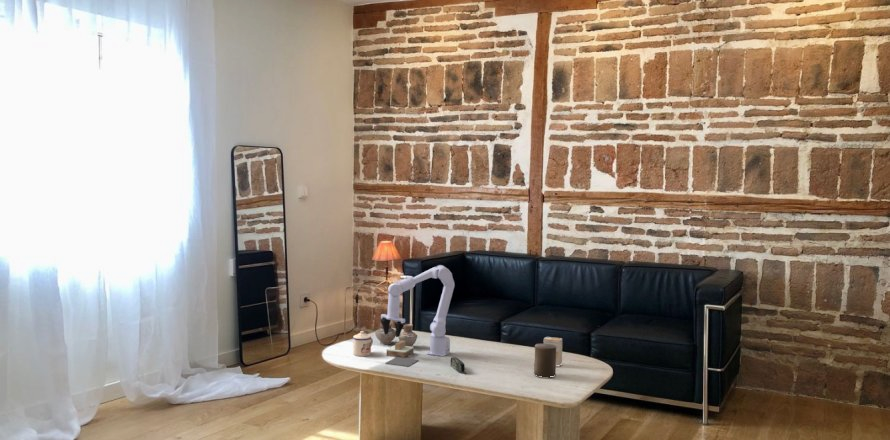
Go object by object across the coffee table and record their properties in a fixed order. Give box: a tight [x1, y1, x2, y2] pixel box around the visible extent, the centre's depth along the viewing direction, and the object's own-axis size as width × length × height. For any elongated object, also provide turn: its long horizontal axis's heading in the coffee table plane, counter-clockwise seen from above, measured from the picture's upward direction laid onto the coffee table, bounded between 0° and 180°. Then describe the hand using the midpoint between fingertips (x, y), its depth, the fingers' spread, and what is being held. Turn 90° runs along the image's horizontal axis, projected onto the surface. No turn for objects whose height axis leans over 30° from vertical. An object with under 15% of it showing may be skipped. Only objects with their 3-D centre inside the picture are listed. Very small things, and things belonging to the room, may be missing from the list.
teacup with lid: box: [352, 330, 374, 357], centre depth 371 cm, size 12×9×12 cm
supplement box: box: [543, 336, 563, 365], centre depth 355 cm, size 8×5×13 cm, turn 65°
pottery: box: [374, 322, 418, 348], centre depth 389 cm, size 11×25×12 cm, turn 57°
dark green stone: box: [450, 356, 467, 375], centre depth 345 cm, size 5×3×15 cm
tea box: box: [386, 348, 414, 358], centre depth 371 cm, size 10×10×3 cm
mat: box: [385, 357, 420, 368], centre depth 357 cm, size 12×12×1 cm
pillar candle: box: [533, 343, 557, 377], centre depth 338 cm, size 10×10×15 cm
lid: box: [386, 341, 414, 353], centre depth 370 cm, size 10×10×4 cm
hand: (391, 335), depth 368 cm, fingers open, 7 cm apart
